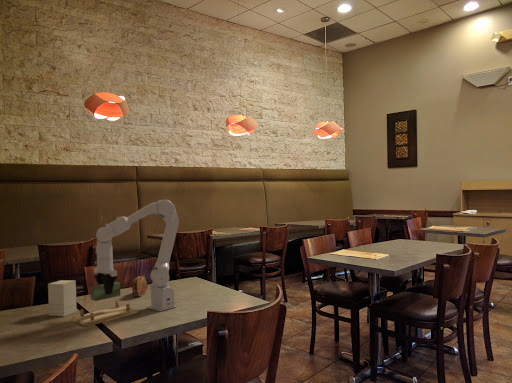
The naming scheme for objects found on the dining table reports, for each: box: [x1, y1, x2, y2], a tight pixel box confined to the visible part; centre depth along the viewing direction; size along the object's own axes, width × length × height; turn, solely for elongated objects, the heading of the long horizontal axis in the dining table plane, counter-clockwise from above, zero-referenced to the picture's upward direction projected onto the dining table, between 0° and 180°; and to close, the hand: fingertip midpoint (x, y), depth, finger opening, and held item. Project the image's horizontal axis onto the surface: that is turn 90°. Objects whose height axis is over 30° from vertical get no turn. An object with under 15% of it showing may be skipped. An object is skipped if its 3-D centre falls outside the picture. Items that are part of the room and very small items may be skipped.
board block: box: [90, 281, 121, 302], centre depth 152 cm, size 4×10×5 cm, turn 138°
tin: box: [131, 275, 148, 298], centre depth 184 cm, size 15×3×8 cm, turn 179°
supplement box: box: [47, 279, 77, 317], centre depth 156 cm, size 7×7×13 cm
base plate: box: [71, 300, 138, 327], centre depth 149 cm, size 12×20×4 cm, turn 139°
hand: (105, 293), depth 152 cm, fingers closed on board block, 4 cm apart
